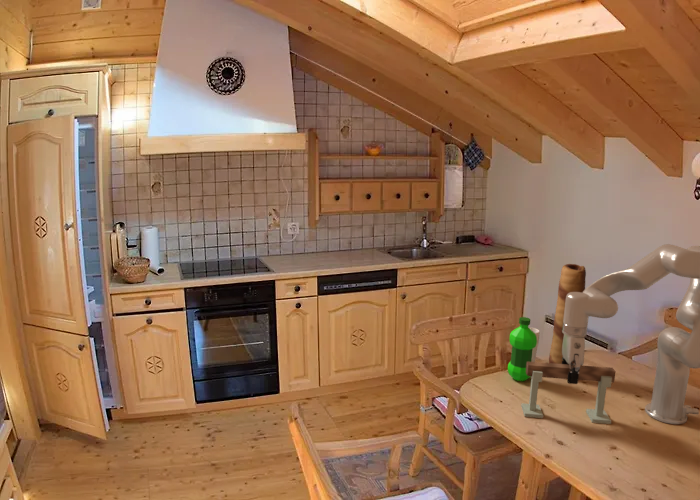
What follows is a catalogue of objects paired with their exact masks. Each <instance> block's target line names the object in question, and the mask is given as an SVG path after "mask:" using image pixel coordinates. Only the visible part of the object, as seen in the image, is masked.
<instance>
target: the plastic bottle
mask: <svg viewBox="0 0 700 500" xmlns="http://www.w3.org/2000/svg"><path fill="white" fill-rule="evenodd" d="M518 324H519V326H518V327H516V328H514V329H513V330H511V331H510V334H509V344H510V345H511V356H510V361H509V362H508V364H507V373H508V375H509V376H511V378H512V379H513V380H514V381H517V382H525V381H527V380H528V379H531V376H527V374H526V364H527V362H531V360H532V350H533V348H534V347H536V344H537V337H536V334H535V333H534V332H533V331H532V330H531V329H530V328H528V327H530V326H529V325H531V318H529V317H526V316H521V317H519V318H518Z"/></svg>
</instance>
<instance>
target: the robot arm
mask: <svg viewBox="0 0 700 500" xmlns="http://www.w3.org/2000/svg"><path fill="white" fill-rule="evenodd" d="M670 274H673V275H676V276H678V277H681V278H687V279H688V278H689V279H690V281H689V285H688V288H687V289H686V292H685V294H684V296H683V298H682V299H681V301H680V303H679V306H678V307H677V310H676V313H675V318H676V320H677V322H678V324H679V323H680V324H681V325H682V326H684V327H685V328H687V329H689V330H691V333H690V332H689V331H687V330H684V329H683V328H680V327H677V326H669V327H666V328H665V329H662V331H661V332H659V335H658V338H657V344H656V345H657V364H656V369H655V376H654V382H653V388H652V389H653V390H652V394H651V401H650V403H649V402H648V403H647V404H646V405H645V407H644V412H645V413H646V414H647V415H648V416H649V417H651V418H653V419H654V420H657V421H659V422H662V423H665V424H671V425H681V424H685V423H686V422H687V421H688V415H689V414H690V415H699V412H700V411H699V409H698V408H695V407H694V408H692V406H691V405H689V404H688V405H687V404H685V402H686V401H685V400H686V396H687V394H686V393H687V389H688V382H689V378H690V368H691V369H700V245H692V246H689V247H688V248H687V249H686V248H683V247H681V246H678V245H675V244H669V243H668V244H663V245H660V246H659V247H657V248H655V249H654V250H652V251H651V252H650V253H648V254H647V255H645V256H644V257H642V258H641V259H640V260H638V261H637V262H635V263H634V264H632V265H631V266H629V267H628V268H625V269H622V270H618V271H616V272H612V273H609V274H607V275H604V276H602V277H601V278H598V279H596V280H595V281H594V282H592V283H591V284H589V285H588V286H587V287H585V290H584V291H583V292H582V293H581V292H570V293H568V294H567V296H566V301H565V310H564V319H563V328H562V332H563V333H564V337H563V344H562V355H563V357H562V360H563V361H562V364H569V370H570V372H568V379H566V380H567V383H568V384H570V385H577V384H578V383H579V380H578V377H579V369H580V365H581V366H584V362H585V361H584V360H585V352H586V350H585V347H586V346H585V345H586V344H585V343H586V339H585V337H587V334H588V333H587V332H588V326H589V325H588V324H589V317H593V318H599V319H610V318H613V317H614V316H616V314H617V313H618V310H619V304H618V302H617V301H616V300H615V299H614V298H613V297H611V296H612V295H615V294H617V293H621V292H624V291H643V290H647V289H649V288H650V287H652V286H653V285H655V284H656V283H658V282H659V281H660V280H662V279H663V278H665V277H666V276H668V275H670ZM572 362H575V363H572ZM572 366H574V367H573V369H572Z"/></svg>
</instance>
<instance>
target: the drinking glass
mask: <svg viewBox="0 0 700 500" xmlns="http://www.w3.org/2000/svg"><path fill="white" fill-rule="evenodd" d="M528 328H530V329H531V330H532V331H533V332H534V333H535V334H536V337H537V344H536V347H534V348H533V350H532V360H531V362H536V356H537V352H538V347H539V341H540V330H539V329H537V328H536V327H530V326H528Z"/></svg>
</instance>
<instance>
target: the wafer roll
mask: <svg viewBox="0 0 700 500" xmlns="http://www.w3.org/2000/svg"><path fill="white" fill-rule="evenodd" d="M586 276H587V270H586V267H585V266H584V265H579V264H576V263H566V264H564V265H562V267H561V271H560V278H559V282H558V290H557V300H556V307H555V313H554V319H553V320H554V321H553V328H552V329H553V331H552V333H553V334H552V340H551V344H550V350H549V357H548V363H555V364H562V361H563V360H562V357H563V355H562V344H563V337H564V333H563V332H562V328H563V319H564V310H565V301H566V296H567V294H568V293H570V292H581V293H582V292H583V291H584V290H585V289H586ZM572 363H575V362H572Z"/></svg>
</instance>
